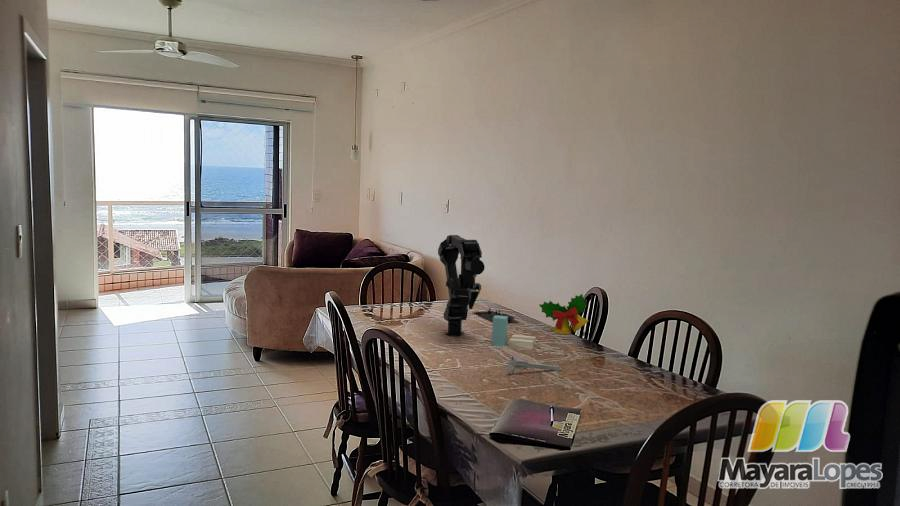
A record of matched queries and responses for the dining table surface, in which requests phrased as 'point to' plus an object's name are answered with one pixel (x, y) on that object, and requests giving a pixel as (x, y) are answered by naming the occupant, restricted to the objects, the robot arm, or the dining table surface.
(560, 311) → the ornament
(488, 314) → the circuit board
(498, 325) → the teal block
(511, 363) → the caliper
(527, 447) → the dining table surface
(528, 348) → the birch block
